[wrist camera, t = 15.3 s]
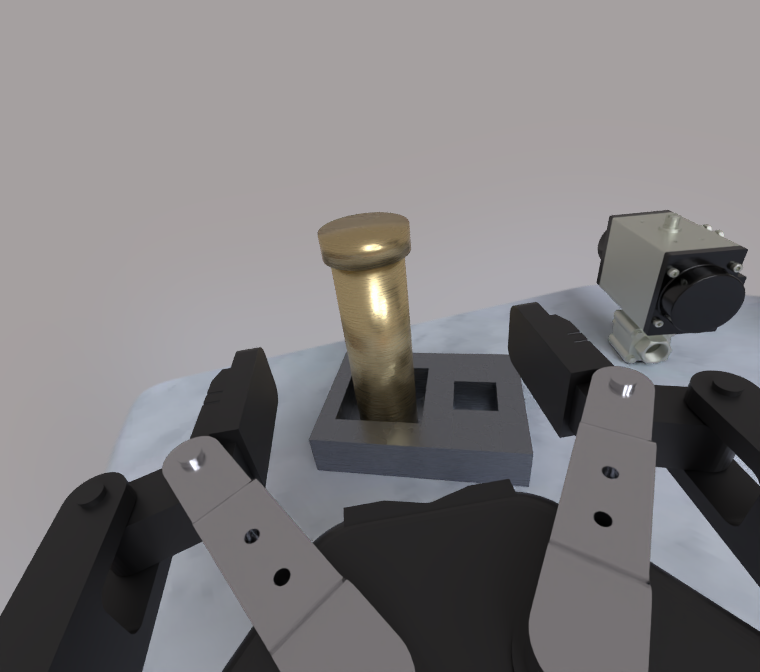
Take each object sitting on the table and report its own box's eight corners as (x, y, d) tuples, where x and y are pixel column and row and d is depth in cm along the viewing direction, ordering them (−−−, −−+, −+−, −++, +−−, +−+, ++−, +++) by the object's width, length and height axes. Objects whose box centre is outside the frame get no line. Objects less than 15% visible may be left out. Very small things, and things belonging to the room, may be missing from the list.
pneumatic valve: (641, 398, 31) (689, 246, 24) (582, 319, 40) (604, 197, 34) (719, 393, 30) (789, 238, 24) (640, 315, 40) (674, 190, 33)
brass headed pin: (425, 395, 33) (414, 210, 24) (419, 445, 28) (401, 242, 20) (363, 393, 34) (332, 214, 25) (348, 440, 30) (304, 246, 21)
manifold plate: (514, 384, 33) (516, 354, 32) (528, 486, 25) (533, 454, 24) (351, 379, 36) (346, 352, 35) (317, 469, 28) (308, 439, 27)
